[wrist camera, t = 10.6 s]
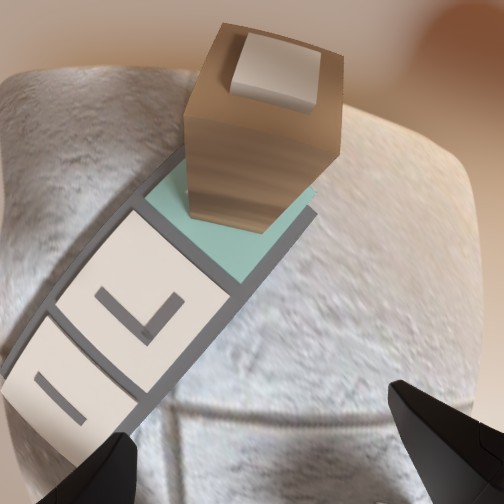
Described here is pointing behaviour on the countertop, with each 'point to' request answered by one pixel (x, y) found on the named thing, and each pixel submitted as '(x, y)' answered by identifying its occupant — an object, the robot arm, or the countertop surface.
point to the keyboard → (137, 312)
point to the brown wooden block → (260, 126)
